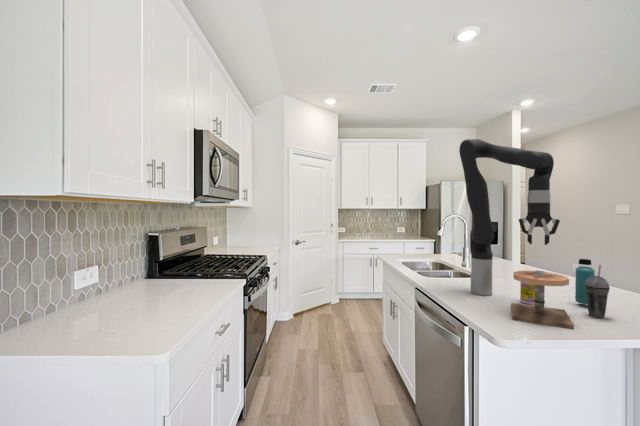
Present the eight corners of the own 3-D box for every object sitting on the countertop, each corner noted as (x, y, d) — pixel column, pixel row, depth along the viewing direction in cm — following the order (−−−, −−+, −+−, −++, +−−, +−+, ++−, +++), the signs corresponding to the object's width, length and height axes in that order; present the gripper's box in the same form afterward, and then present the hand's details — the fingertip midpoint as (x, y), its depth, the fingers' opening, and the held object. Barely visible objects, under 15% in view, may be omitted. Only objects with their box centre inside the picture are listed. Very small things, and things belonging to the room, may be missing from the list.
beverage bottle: (598, 308, 128) (599, 260, 127) (580, 307, 129) (581, 260, 129) (588, 304, 134) (589, 258, 134) (571, 303, 136) (571, 257, 135)
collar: (514, 282, 116) (514, 277, 116) (512, 273, 131) (513, 269, 130) (572, 288, 107) (572, 282, 107) (563, 278, 122) (563, 273, 122)
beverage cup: (579, 313, 122) (579, 263, 122) (595, 312, 123) (596, 262, 123) (597, 320, 115) (597, 266, 115) (614, 319, 116) (615, 266, 115)
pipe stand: (512, 319, 116) (513, 273, 116) (511, 306, 131) (511, 265, 131) (573, 329, 107) (574, 278, 106) (564, 313, 122) (565, 269, 122)
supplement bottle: (516, 301, 138) (517, 272, 138) (525, 299, 141) (525, 271, 141) (533, 305, 132) (533, 275, 132) (541, 303, 135) (542, 274, 135)
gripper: (518, 202, 125) (517, 244, 125) (562, 201, 117) (562, 246, 118) (517, 202, 131) (516, 242, 131) (559, 201, 124) (558, 244, 124)
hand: (538, 244), depth 125 cm, fingers open, 4 cm apart
